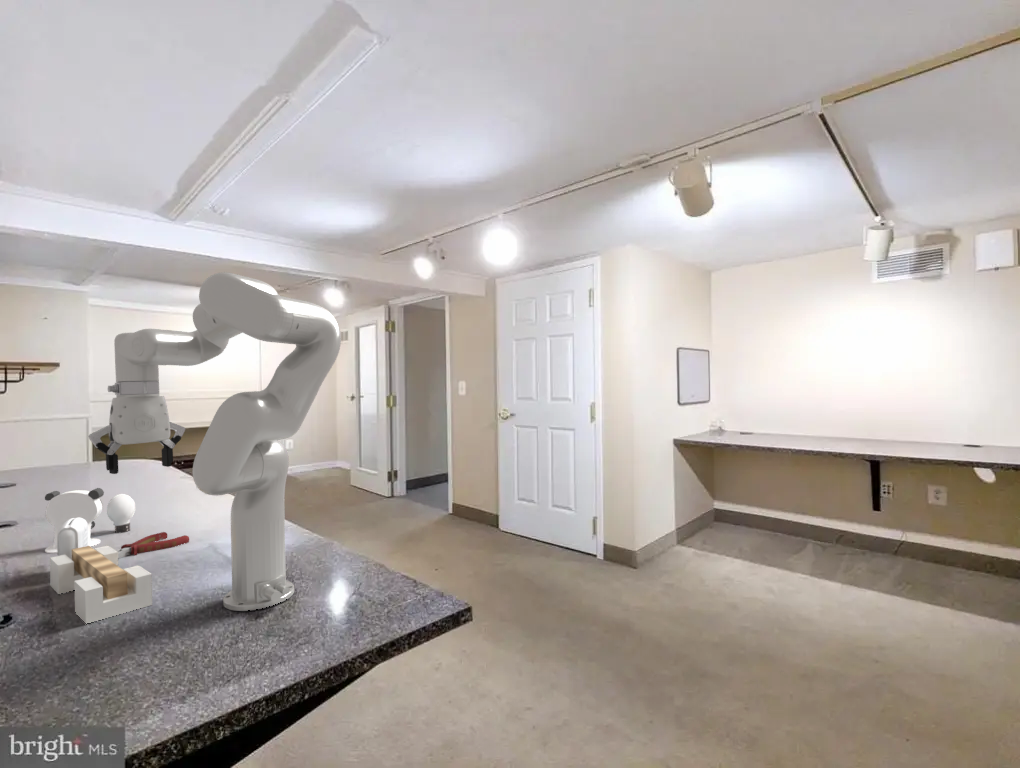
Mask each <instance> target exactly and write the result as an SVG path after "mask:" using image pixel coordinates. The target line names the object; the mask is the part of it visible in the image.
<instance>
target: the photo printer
mask: <svg viewBox="0 0 1020 768" xmlns="http://www.w3.org/2000/svg"><path fill="white" fill-rule="evenodd" d="M86 546H88V523H87V522H86V520H85V519H83V518H80V517H78V518H71V519H69V520H67V521H66V522H65V523H64V524H63V525H62V526H61V527H60V529H59V531H58V534H57V553H56V554H57V555H56V556H60V555H66V556H67V557H69V558H70V559H71V560H72V549H76V548H81V547H86Z"/></svg>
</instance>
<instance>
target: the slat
mask: <svg viewBox="0 0 1020 768" xmlns="http://www.w3.org/2000/svg"><path fill="white" fill-rule="evenodd" d="M72 561H73V562H74V570H75V571H76V572H78V573H79V574H80V575H81V576H82V577H83V578H89V577H92V578H93V579H95V580H96V581H97V582H98V583H99V584H100V585H102V586H103V596H105V597H106V598H107V599H112V598H115V597H119V596H122V595H126V594H128V580H127V572H125V571H124V570H123V569H124V568H122V567H120V566H119V565H118V566H117V565H116V564H114V563H113V562H111V561H110V560H108V559H107V558H106V557H104V556H103V555H101V554H100V553H99V552H97V551H96V550H94V548H93V547H90V546H86V547H81V548H76V549H72Z"/></svg>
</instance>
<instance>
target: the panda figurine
mask: <svg viewBox="0 0 1020 768" xmlns="http://www.w3.org/2000/svg"><path fill="white" fill-rule="evenodd" d="M104 493H105V491H104V490H103V489H102V488H101V487H97V488H96V487H95V488H94V489H91V490H90V491H89V490H86V489H85V490H84V489H82V490H81V489H80V490H79V489H77V490H76V489H75V490H69V491H65V492H63V493H61V492H60V491H59V490H54V491H51V492H49V493H46V494H45V496H44V500H45V501H48V503H47V506H46V508H45V517H46V520H47V521H48V523H49V524H50V525H52V526H53V530H54V531H53V533H54V534H53V535H54V536H53V539H54V541H53V545H50V546H48V547H46V548H45V549H44V552H45V553H46V554H57V534H58V531H59V529H60V527H61V526H62V525H63V524H64V523H65V522H66V521H67V520H69V519H71V518H78V517H80V518H83V519H85V520H86V522H87V523H88V546H90V547H91V546H93V547H95V546H98V545H99V544H101V542H102V541H101V539H99V538H91V532H92V529H94V528H95V527H96V523H95V520H96V519H97V518H98V517H99V516H100V515H101V513H102V511H103V509H104V508H103V507H104V506H103V505H104V504H103V502H102V500H101V499H100V498H102V497H103V496H104ZM97 544H98V545H97ZM94 545H95V546H94Z"/></svg>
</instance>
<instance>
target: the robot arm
mask: <svg viewBox="0 0 1020 768" xmlns="http://www.w3.org/2000/svg"><path fill="white" fill-rule="evenodd" d="M198 292H199V294H198V300H199V302H200V303H198V304H197V305H196V306H195V308H194V309H193V311H192V323H193V324H194V327H195V328H196V330H194V331H190V332H188V331H183V330H182V331H181V330H171V329H160V328H158V329H157V328H142V329H140V330H139V329H138V330H137V331H134V332H122V333H119V334H117V335H116V336H115V337H114V341H113V342H114V346H113V347H114V362H115V363H114V364H115V365H114V368H115V369H114V370H115V382H114V384H112V385H107V392H108V393H114V395H115V396H116V397H112V399H111V404H110V410H109V420H108V421H109V422H108V425H105V426H104V427H102V428H100V429H98V430H95V431H94V432H91V433H90V434H89V435H87V436H88V439H89V440H90V442H91V443H92V444H93V446H94V447H95V449H97V450H99V451H100V452H102V453H103V454H104V455H105V466H106V467H105V468H106V471H109V474H112V475H117V474H118V473H119V455H118V454H117V453H116V452H117V450H119V449H120V448H121V446H122V445H134V444H145V443H156V442H157V443H159V444H161V445H162V446H163V447H162V448H161V466H162V467H167V468H170V467H171V466H172V463H173V462H174V450H173V449H174V448H175V447H176V445H177V444H178V443H180V441H181V440H182V437H183V435H184V433H185V431H186V427H184V426H182V425H179V424H176V423H174V422H171V421H170V418H169V417H170V416H169V412H168V405H167V401H166V398H165V396H164V395H160V373H159V371H160V370H159V368H160V367H159V366H179V367H180V366H181V367H189V366H191V367H192V366H196V365H197V366H198V365H200V364H203V363H206V362H208V361H209V360H212V359H215V357H218V356H220V355H221V354H222V353H224V351H225V349H226V348H227V346H228V344H229V341H230V340H231V339H232V338H234V337H237V336H238V335H240V334H242V333H243V334H245V335H247V336H249V337H252V338H254V339H255V340H259V341H262V342H267V343H274V344H275V343H277V344H278V343H279V344H287V345H295V348H294V349H293V350H292V351H291V352H290V353H289V354H287V356H286V357H285V358H283V360H281V362H280V363H279V364H278V366H277V368H276V369H275V371H274V374H273V375H272V378H271V380H270V381H269V383H267V386H266V387H265V388H264V389H262V390H259V391H257V390H253V391H244V392H242V391H241V392H238V393H236V394H232V395H231V396H229V397H227V399H225V400H224V401H223V402H222V403H221V404H220V406H219V407H218V408H217V410H216V411H215V414H214V416H213V418H212V420H211V422H210V424H209V426H208V429H207V430H206V432H205V435H204V437H203V438H202V442H201V443H200V446H199V448H198V449H197V452H196V455H195V456H194V460H193V463H192V479H193V481H194V484H195V486H196V488H197V489H199V491H200V492H201V493H204V494H205V495H208V496H216V497H217V496H224V495H229V494H233V493H235V494H234V497H233V499H232V504H231V509H230V551H231V554H230V555H231V556H230V557H231V560H230V561H231V590H229V591H228V592H227V593H226V594H225V595H224V596H223V597H222V598H223V599H222V601H223V602H222V604H223V607H224V608H225V609H228V610H229V611H235V612H249V611H248V610H250V611H256V609H258V610H263V609H267V608H270V607H273V605H274V606H275V604H276V605H279V604H281V603H283V602H285V601H287V600H289V599H290V598H291V597H292V596H293V594H294V593H295V585H294V583H292V582H291V581H289V580H287V579H286V578H287V575H286V574H287V573H286V572H287V571H286V570H287V566H286V530H285V529H286V526H285V522H286V521H285V519H286V518H285V516H286V515H285V509H286V508H285V496H286V495H285V494H286V483H287V478H288V477H287V476H288V471H289V464H290V461H289V460H290V459H289V452H288V450H287V448H286V446H285V445H284V444H283V443H282V442H281V441H280V440H285V439H289V438H291V437H292V436H294V435H295V434H296V433H297V432H298V431H299V430H300V428H302V427H301V426H302V425H303V422H304V421H305V418H306V416H307V415H308V413H309V411H310V408H311V406H312V405H313V403H314V401H315V399H316V397H317V395H318V392H319V391H320V388H321V386H322V385H323V383H324V381H325V379H326V377H327V376H328V374H329V373H330V371H331V369H332V368H333V366H334V364H335V362H336V360H337V358H338V356H339V353H340V349H341V344H342V335H341V329H340V326H339V324H338V321H337V319H336V317H335V316H334V315H333V314H332V313H331V312H330V310H328V309H327V308H325V307H323V306H321V305H319V304H317V303H314V302H311V301H308V300H307V301H306V300H302V299H298V298H292V297H288V296H283V295H279V293H278V291H277V289H275V288H274V287H273V286H272V285H271V284H269V283H268V282H265V281H263V280H261V279H257V278H253V277H249V276H246V275H245V276H244V275H241V274H238V273H237V274H236V273H233V272H227V271H226V272H225V271H223V272H217V273H214V274H212V275H210V276H208V277H207V278H206V279H205V280H204V281H203V283H202V284H201V285H200V289H199V291H198ZM171 430H173V431H174V432H175V433H174V435H173V436H172V437H171ZM105 435H108V439H109V442H110V443H109V444H108V445H107V444H106V443H104V442H103V441H102V439H101V438H102V437H104V436H105ZM170 437H171V438H170ZM286 599H287V600H286ZM280 602H281V603H280ZM278 603H279V604H278ZM269 606H270V607H269ZM266 607H267V608H266ZM262 608H263V609H262Z"/></svg>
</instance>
